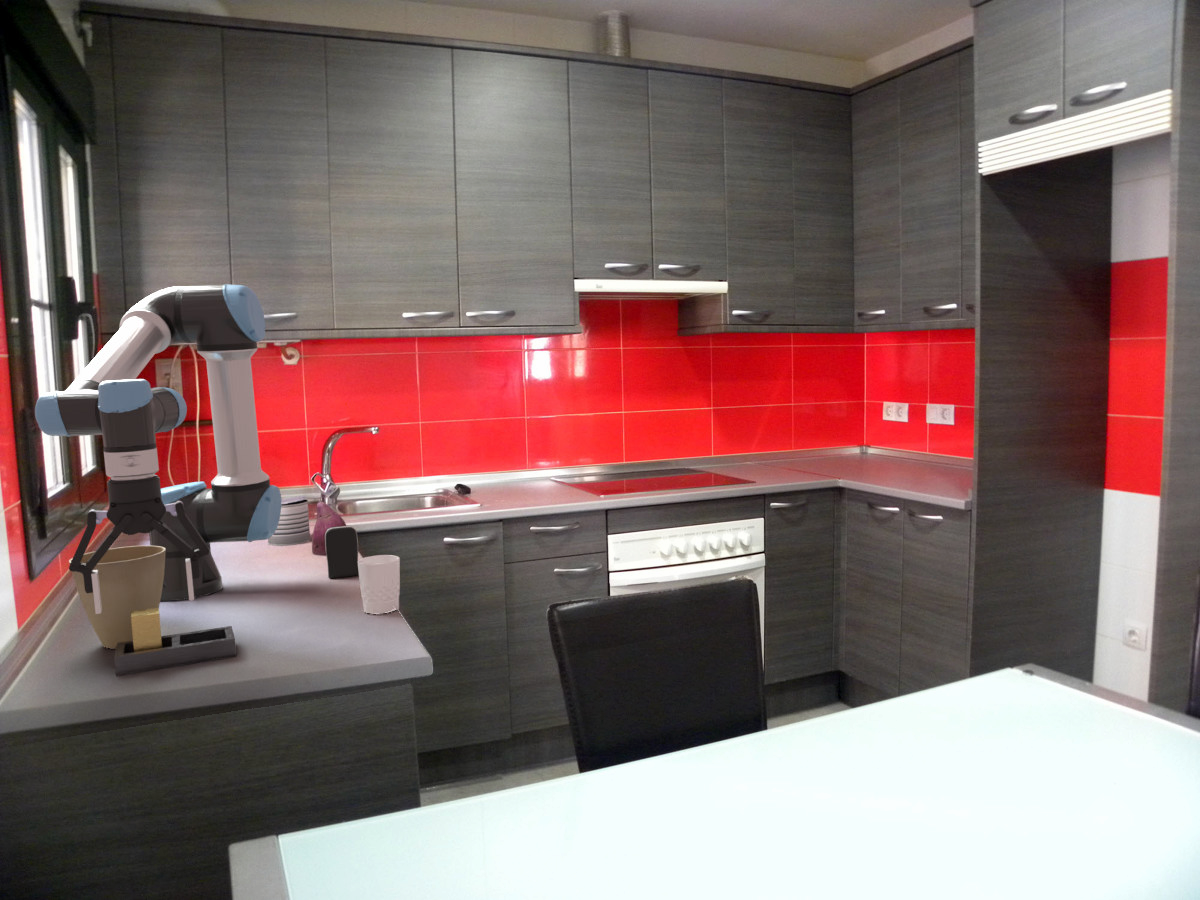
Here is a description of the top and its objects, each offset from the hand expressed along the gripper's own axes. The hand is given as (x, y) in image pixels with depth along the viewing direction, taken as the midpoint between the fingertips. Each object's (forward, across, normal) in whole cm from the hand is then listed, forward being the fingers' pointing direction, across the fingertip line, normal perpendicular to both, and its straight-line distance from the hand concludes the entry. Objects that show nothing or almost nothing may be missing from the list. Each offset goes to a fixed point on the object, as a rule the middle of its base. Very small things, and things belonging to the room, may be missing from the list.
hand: (146, 605), depth 146 cm
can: (+12, +33, +93) cm, 99 cm away
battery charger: (+11, +38, +43) cm, 59 cm away
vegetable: (+12, +41, +73) cm, 84 cm away
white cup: (+10, +40, +10) cm, 42 cm away
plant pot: (+10, -4, +14) cm, 18 cm away
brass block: (+9, 0, -1) cm, 9 cm away
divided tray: (+10, +4, -1) cm, 10 cm away
